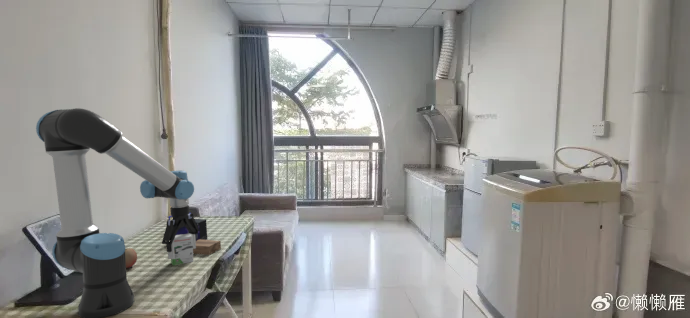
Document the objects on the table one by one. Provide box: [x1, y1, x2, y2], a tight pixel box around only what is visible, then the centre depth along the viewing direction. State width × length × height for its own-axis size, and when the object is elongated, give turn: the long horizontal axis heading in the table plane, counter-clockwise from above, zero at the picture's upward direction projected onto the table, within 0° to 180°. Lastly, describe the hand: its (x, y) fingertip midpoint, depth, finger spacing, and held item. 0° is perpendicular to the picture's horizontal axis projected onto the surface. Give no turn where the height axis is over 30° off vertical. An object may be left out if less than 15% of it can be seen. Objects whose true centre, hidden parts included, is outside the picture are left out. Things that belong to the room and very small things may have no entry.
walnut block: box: [193, 239, 222, 256], centre depth 171 cm, size 9×12×4 cm
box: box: [176, 218, 208, 241], centre depth 186 cm, size 17×7×12 cm, turn 76°
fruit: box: [125, 247, 138, 269], centre depth 151 cm, size 8×8×8 cm
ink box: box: [170, 233, 194, 266], centre depth 156 cm, size 9×5×12 cm, turn 123°
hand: (182, 253), depth 157 cm, fingers open, 13 cm apart
